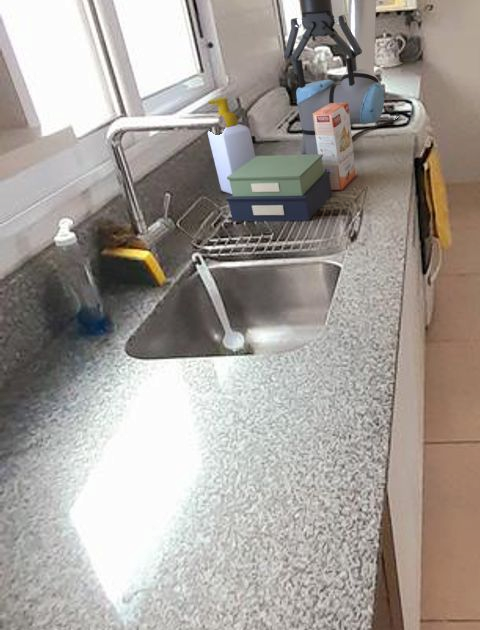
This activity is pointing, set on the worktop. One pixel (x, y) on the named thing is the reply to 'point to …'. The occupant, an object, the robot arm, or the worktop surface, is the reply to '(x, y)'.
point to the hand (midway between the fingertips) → (327, 86)
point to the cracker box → (335, 143)
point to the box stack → (279, 188)
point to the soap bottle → (230, 145)
